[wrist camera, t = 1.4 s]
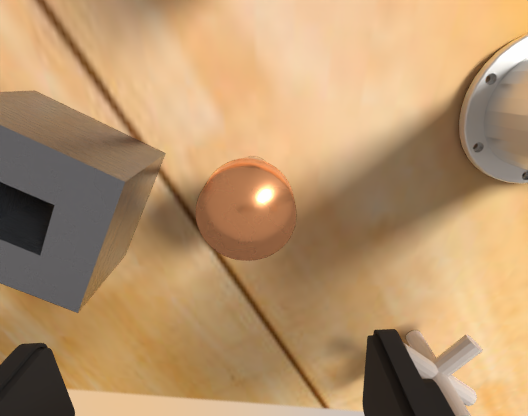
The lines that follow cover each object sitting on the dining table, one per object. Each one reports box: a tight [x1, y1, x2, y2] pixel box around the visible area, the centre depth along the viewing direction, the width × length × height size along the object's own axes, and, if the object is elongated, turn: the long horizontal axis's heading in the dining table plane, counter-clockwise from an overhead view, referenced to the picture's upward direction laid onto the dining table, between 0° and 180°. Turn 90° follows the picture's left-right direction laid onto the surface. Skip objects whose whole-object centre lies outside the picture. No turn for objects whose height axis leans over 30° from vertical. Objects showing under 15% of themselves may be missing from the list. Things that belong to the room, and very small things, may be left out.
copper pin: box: [196, 156, 296, 261], centre depth 25 cm, size 6×6×10 cm
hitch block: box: [0, 91, 166, 313], centre depth 27 cm, size 12×12×9 cm
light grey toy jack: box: [404, 330, 482, 416], centre depth 32 cm, size 10×10×10 cm
